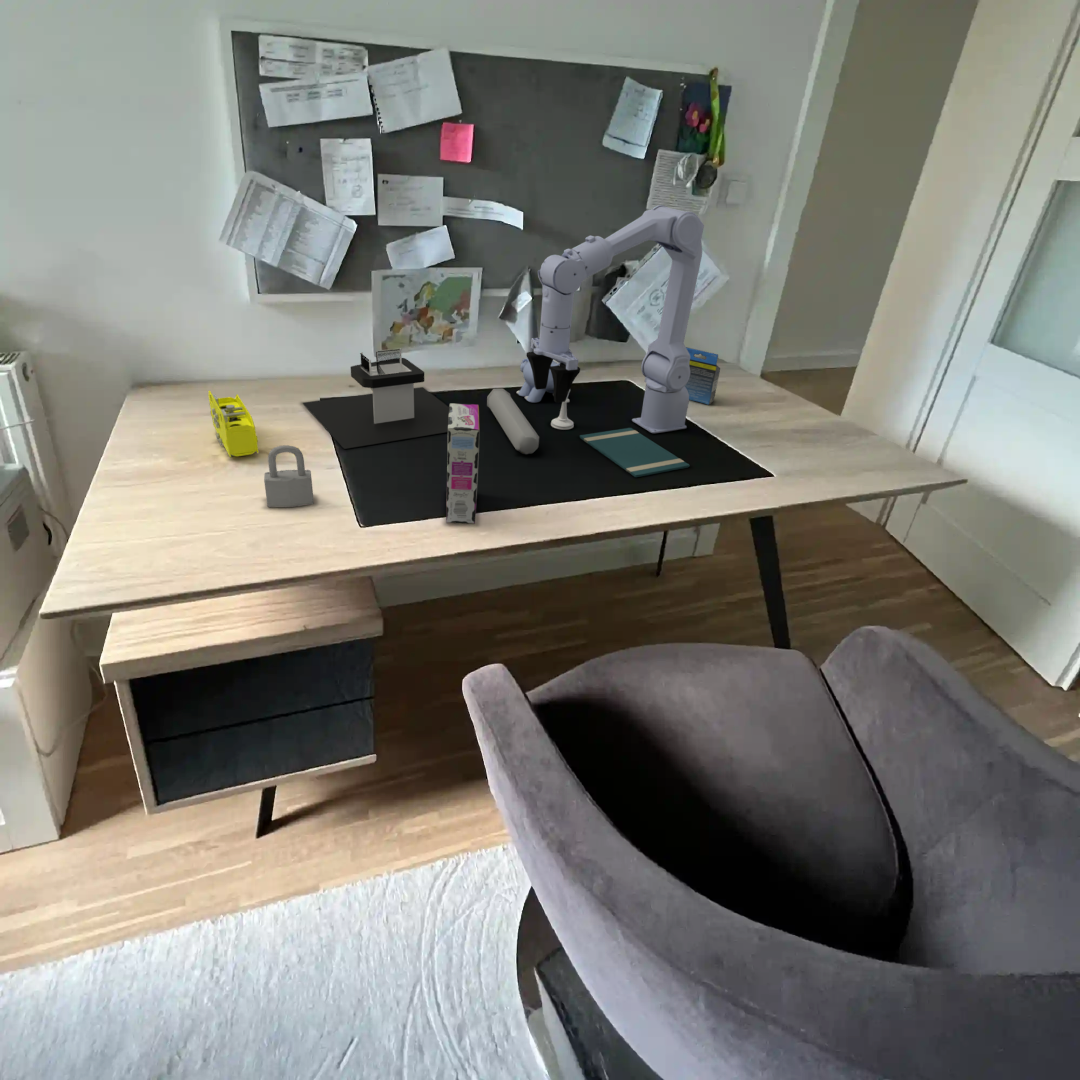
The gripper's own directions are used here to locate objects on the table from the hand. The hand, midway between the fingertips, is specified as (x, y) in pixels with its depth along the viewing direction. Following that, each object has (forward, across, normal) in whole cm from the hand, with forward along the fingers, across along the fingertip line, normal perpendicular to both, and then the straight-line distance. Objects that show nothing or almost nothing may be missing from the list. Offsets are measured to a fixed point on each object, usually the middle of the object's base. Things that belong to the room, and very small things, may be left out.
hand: (550, 395), depth 142 cm
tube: (+10, -7, -4) cm, 13 cm away
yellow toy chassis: (+10, -20, -56) cm, 60 cm away
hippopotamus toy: (+10, -26, +13) cm, 31 cm away
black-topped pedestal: (+10, -24, -25) cm, 36 cm away
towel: (+10, +10, +14) cm, 20 cm away
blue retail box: (+10, -11, +48) cm, 50 cm away
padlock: (+10, +7, -52) cm, 53 cm away
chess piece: (+10, -7, +8) cm, 15 cm away
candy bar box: (+10, +19, -27) cm, 35 cm away
